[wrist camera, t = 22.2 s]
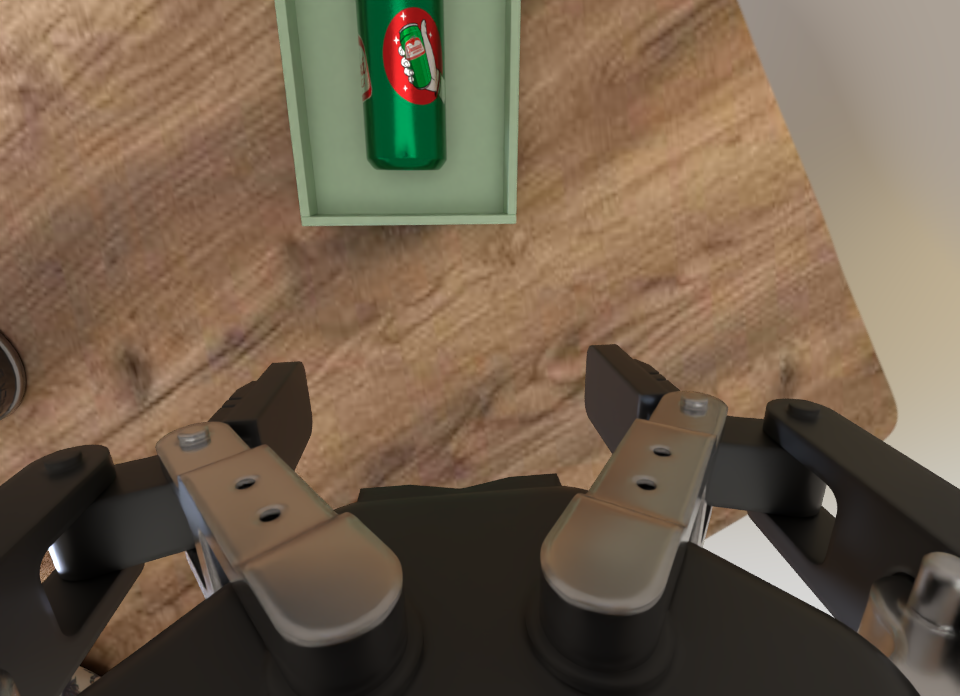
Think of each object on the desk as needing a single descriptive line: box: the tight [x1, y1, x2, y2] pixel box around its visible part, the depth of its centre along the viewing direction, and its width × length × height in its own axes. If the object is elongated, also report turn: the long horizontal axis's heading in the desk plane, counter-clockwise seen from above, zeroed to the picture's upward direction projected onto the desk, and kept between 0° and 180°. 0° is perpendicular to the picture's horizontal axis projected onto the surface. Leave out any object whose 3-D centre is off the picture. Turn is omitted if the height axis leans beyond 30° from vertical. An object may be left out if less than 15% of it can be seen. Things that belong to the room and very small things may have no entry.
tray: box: [275, 0, 521, 226], centre depth 31 cm, size 19×14×3 cm
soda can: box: [355, 0, 447, 170], centre depth 29 cm, size 5×5×12 cm
